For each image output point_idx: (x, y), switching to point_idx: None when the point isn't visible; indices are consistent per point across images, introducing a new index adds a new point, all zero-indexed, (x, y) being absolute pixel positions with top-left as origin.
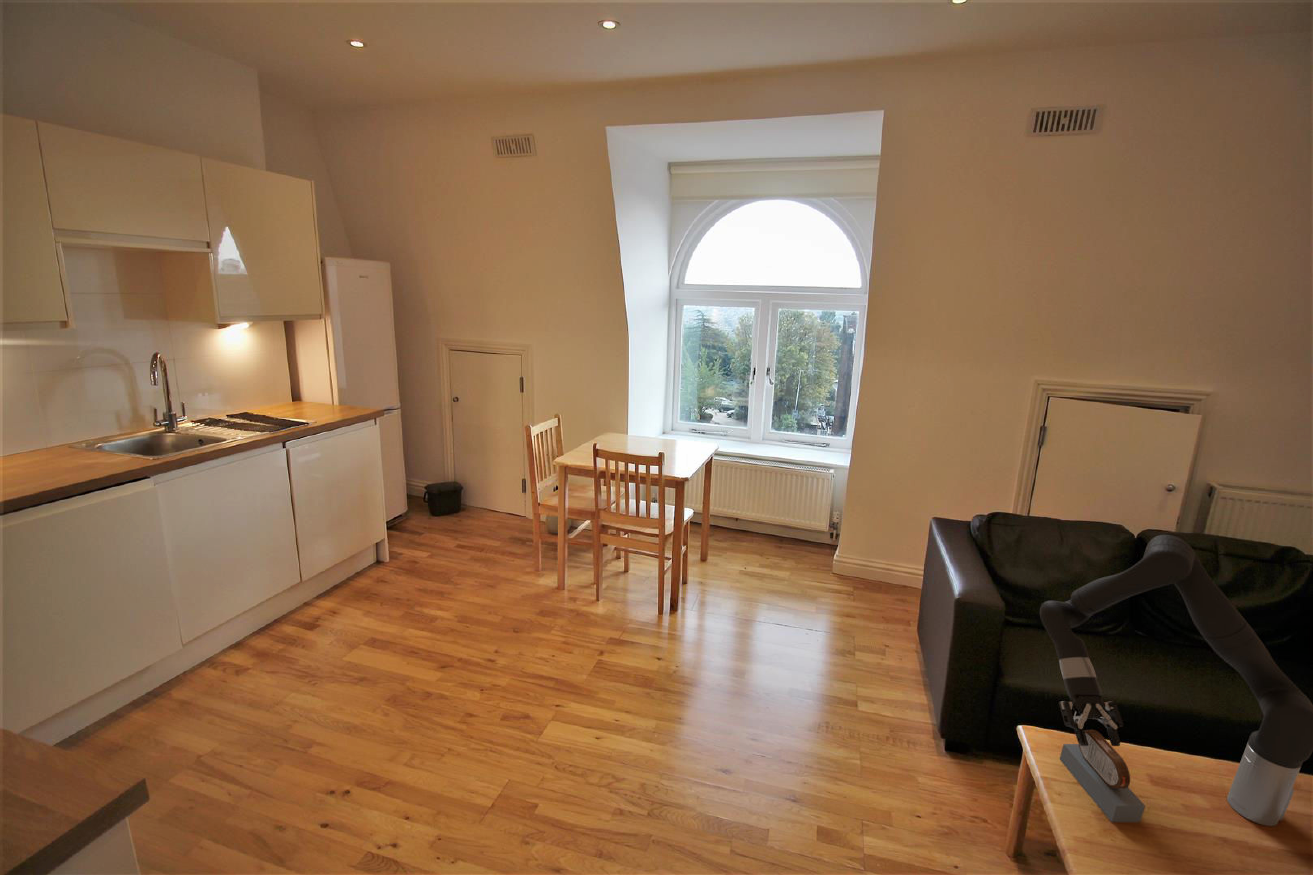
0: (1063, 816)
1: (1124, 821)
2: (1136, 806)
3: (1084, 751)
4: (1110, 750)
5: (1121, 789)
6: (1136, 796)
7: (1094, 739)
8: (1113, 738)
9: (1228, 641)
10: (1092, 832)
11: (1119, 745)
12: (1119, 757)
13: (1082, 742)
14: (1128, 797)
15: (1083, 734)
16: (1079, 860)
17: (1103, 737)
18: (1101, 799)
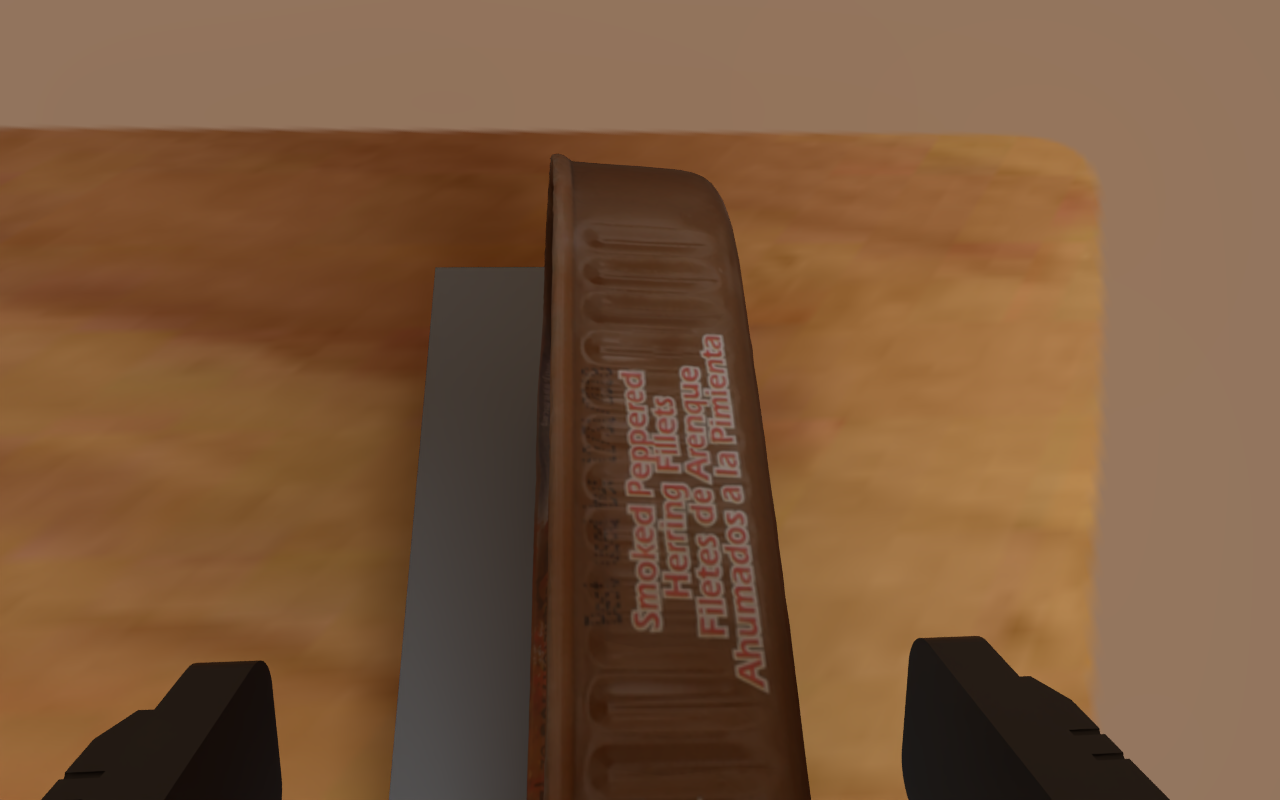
0: (1060, 415)
1: None
2: (522, 273)
3: None
4: (642, 365)
5: (527, 429)
6: (430, 357)
7: (787, 681)
8: (214, 797)
9: None
10: (896, 303)
11: (208, 664)
12: (589, 227)
13: (1029, 683)
14: (526, 347)
15: (1070, 750)
16: (1070, 152)
17: (552, 697)
18: None
